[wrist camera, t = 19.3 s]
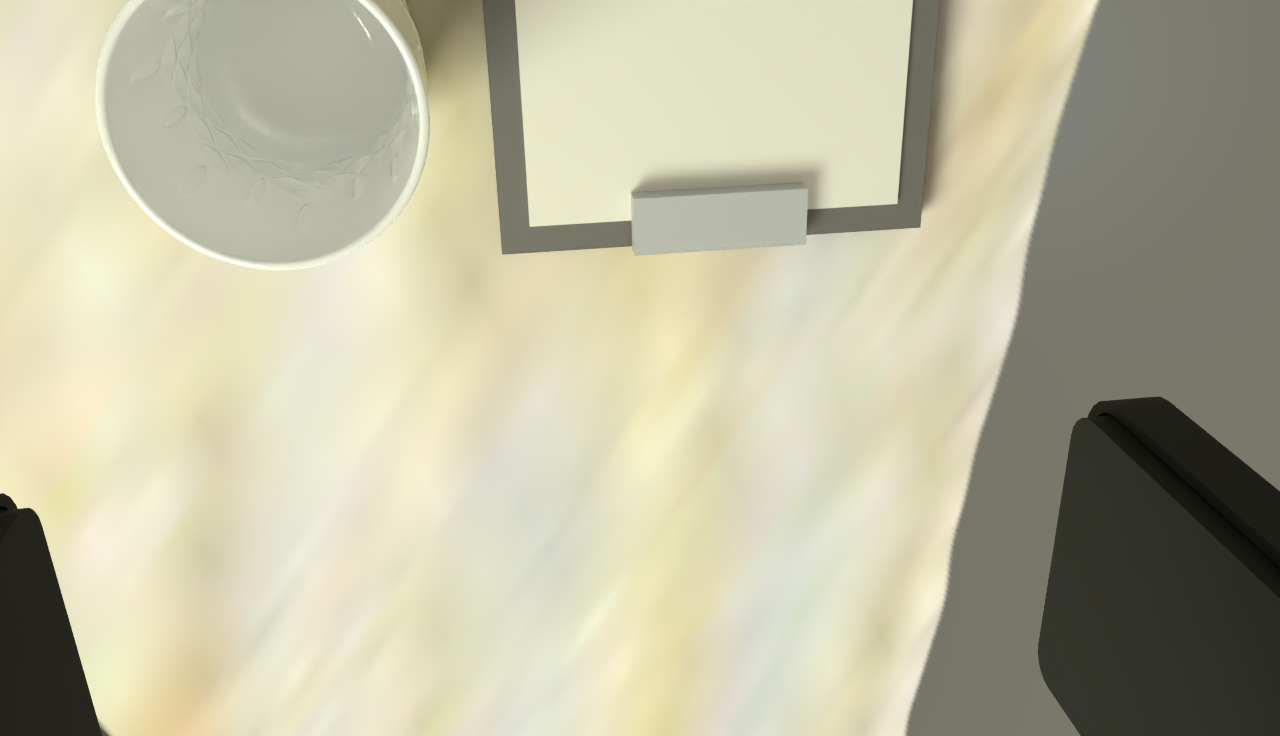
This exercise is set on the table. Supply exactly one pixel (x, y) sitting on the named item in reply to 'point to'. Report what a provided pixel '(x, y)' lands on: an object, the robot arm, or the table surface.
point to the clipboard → (707, 120)
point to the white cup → (266, 122)
